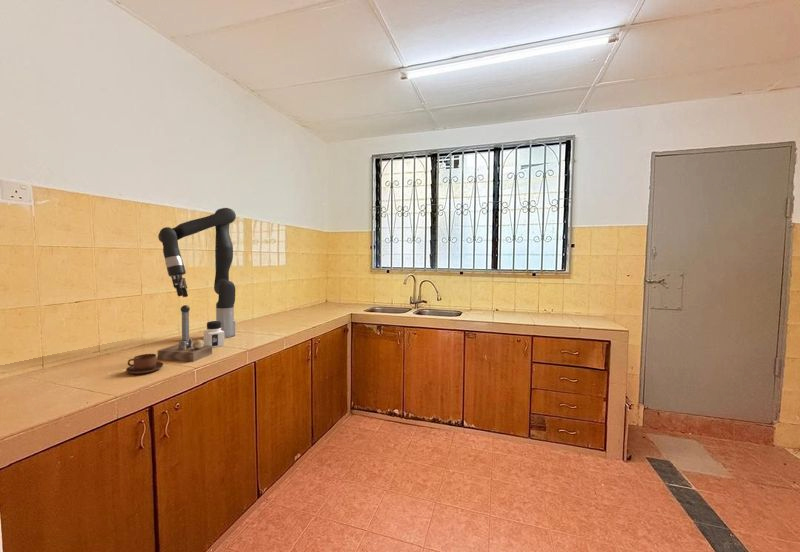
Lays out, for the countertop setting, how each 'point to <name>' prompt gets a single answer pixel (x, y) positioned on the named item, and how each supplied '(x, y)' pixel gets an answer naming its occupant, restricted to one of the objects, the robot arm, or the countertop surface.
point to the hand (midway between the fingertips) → (183, 296)
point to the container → (214, 334)
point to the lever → (185, 324)
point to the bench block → (185, 351)
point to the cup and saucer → (144, 364)
